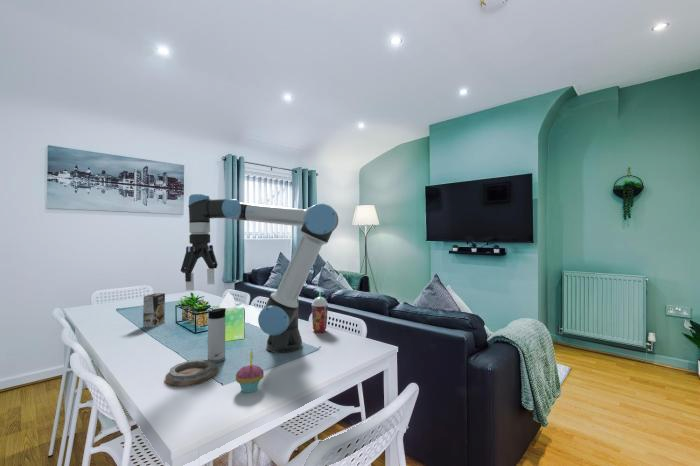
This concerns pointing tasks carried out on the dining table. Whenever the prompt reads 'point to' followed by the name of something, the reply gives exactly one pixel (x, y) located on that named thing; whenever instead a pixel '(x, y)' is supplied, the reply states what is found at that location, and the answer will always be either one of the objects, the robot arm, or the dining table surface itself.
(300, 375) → the dining table surface
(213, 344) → the travel mug
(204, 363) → the plate
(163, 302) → the coffee box
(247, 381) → the cupcake
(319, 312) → the smoothie
